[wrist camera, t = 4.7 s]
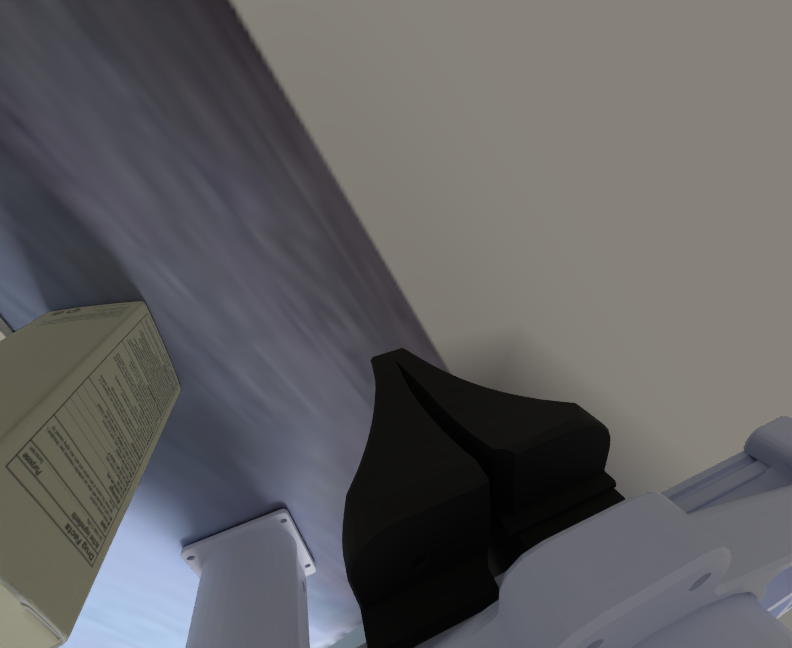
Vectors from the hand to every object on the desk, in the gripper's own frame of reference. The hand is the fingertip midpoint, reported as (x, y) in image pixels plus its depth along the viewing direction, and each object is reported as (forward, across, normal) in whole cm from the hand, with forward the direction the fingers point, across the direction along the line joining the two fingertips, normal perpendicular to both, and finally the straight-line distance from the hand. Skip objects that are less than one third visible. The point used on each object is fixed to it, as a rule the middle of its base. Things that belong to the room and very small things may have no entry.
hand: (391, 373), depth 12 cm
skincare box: (+9, +13, 0) cm, 16 cm away
